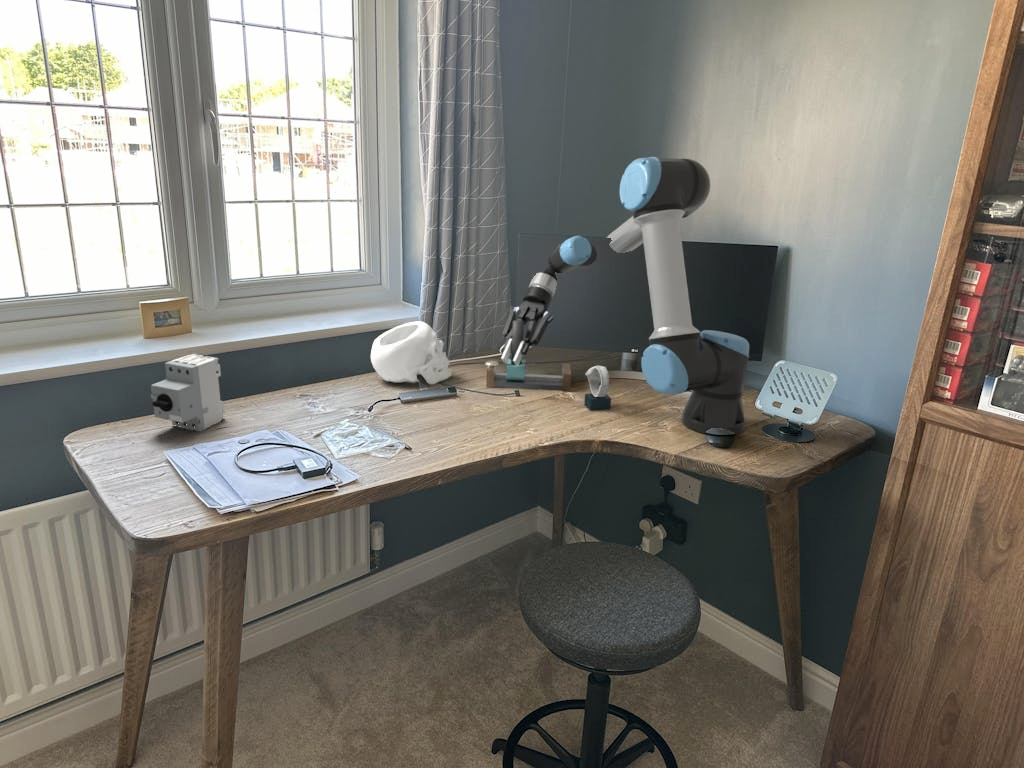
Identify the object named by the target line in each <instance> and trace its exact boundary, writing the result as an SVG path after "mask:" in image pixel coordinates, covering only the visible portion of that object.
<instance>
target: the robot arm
mask: <svg viewBox="0 0 1024 768" xmlns="http://www.w3.org/2000/svg"><path fill="white" fill-rule="evenodd" d="M619 183H620V184H619V198H620V202H621V204H622V206H624V208H625V210H628V211H630V212H632V216H631V217H630V218H629V219H627V220H626V221H624V222H623V223H622V224H620V226H618V227H617V228H616V229H614V230H613V231H612V232H611V233H609V234H608V235H607V236H606V237H604V238H611V240H612V241H611V242H610V244H609V245H610V247H611V248H612V249H613V250H614V251H616V252H617V253H625V252H629V251H631V252H632V251H634V250H635V249H637V248H638V247H640V246H641V245H643V250H644V257H645V258H644V259H645V265H646V266H645V267H646V274H647V282H648V287H649V288H648V289H649V298H650V299H649V300H650V305H651V306H650V307H651V314H652V321H653V329H654V330H653V332H652V333H651V334H650V336H649V337H648V342H649V346H648V347H646V349H645V350H644V351H643V352H642V353H643V354H642V355H643V356H641V362H640V365H641V371H642V374H643V377H644V379H645V381H646V383H647V384H648V385H649V386H650V387H651V388H652V389H653V390H654V391H655V392H657V393H659V394H662V395H672V394H673V395H680V394H681V395H682V394H683V393H687V392H691V394H690V396H689V398H688V400H687V402H686V404H685V405H684V408H683V409H682V413H681V423H682V424H683V425H684V427H686V428H688V429H690V430H692V431H695V432H697V433H702V434H705V433H706V431H707V430H709V429H711V428H723V429H727V430H730V431H732V432H734V433H735V434H736V435H739V434H741V433H743V432H744V431H745V427H746V415H745V410H744V406H743V397H742V396H743V390H744V385H745V381H746V374H747V367H748V360H749V358H750V355H749V354H750V343H749V341H748V339H746V338H744V337H742V336H739V335H737V334H734V333H728V332H724V331H719V330H713V329H711V330H709V329H708V330H707V329H704V330H702V331H701V330H699V329H698V328H696V327H695V326H694V325H693V321H692V313H691V305H690V296H689V289H688V282H687V274H686V265H685V259H684V258H685V257H684V249H683V243H682V235H681V234H682V233H681V225H680V221H681V220H682V219H685V218H688V217H689V216H691V215H692V214H693V213H694V212H696V211H697V210H699V209H700V208H701V207H702V206H703V204H705V202H706V200H707V198H708V196H709V194H710V192H711V180H710V175H709V172H708V171H707V170H706V168H705V167H704V166H703V165H702V164H701V163H699V162H698V161H697V160H694V159H690V158H672V157H671V158H670V157H657V156H650V157H639V158H637V159H634V160H632V162H630V164H628V165H627V167H626V168H625V170H624V173H623V174H622V176H621V180H620V182H619ZM596 257H597V252H596V249H595V247H594V246H593V245H592V244H591V243H589V241H588V239H587V238H585V237H583V236H581V235H574V236H572V237H569V238H567V239H566V240H565V241H563V242H562V243H561V244H559V246H558V247H557V248H556V249H555V250H554V251H553V252H552V254H551V255H550V257H549V260H548V265H549V268H550V269H549V268H546V269H543V270H540V271H539V272H538V273H536V275H535V276H534V275H533V276H534V277H532V278H533V279H531V280H530V283H529V285H528V288H527V290H526V291H525V294H524V296H523V299H522V303H520V304H519V305H518V306H516V307H514V306H513V305H511V306H509V314H508V317H507V320H506V323H505V325H504V327H503V328H504V329H503V331H502V333H501V334H502V336H503V337H504V339H505V340H506V341H505V343H504V345H503V346H502V347H503V348H502V349H503V353H502V356H501V357H500V359H501V360H502V362H503V364H506V365H507V362H508V359H510V358H511V350H512V328H513V321H514V320H521V321H524V325H527V323H528V322H529V323H528V327H527V330H526V335H525V337H523V341H521V343H520V346H519V348H518V350H517V352H516V355H515V357H514V359H513V361H514V363H515V365H516V366H519V364H520V361H521V359H522V360H523V356H526V355H527V353H528V351H529V349H530V346H533V345H534V346H538V345H539V343H540V341H541V340H542V337H543V335H544V333H545V332H546V330H547V328H548V326H549V324H550V323H551V322H553V320H554V316H553V315H552V313H551V311H548V309H549V307H550V305H551V302H552V299H553V298H554V295H555V293H556V291H555V290H557V288H556V286H557V278H556V275H555V272H557V273H563V272H566V273H568V272H569V270H570V271H572V270H574V269H576V268H577V269H578V268H579V269H580V268H581V267H582V268H587V267H586V266H589V265H590V264H592V263H593V262H594V261H595V260H596ZM549 261H550V262H549ZM550 264H551V265H550ZM567 271H568V272H567ZM545 273H546V274H545ZM548 274H549V275H548ZM550 275H551V276H550ZM553 277H554V278H555V279H556V280H555V279H554V278H553ZM557 287H558V286H557ZM517 316H518V319H517ZM540 319H541V320H540ZM539 321H540V322H539ZM736 435H735V436H736Z"/></svg>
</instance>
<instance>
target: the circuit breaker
mask: <svg viewBox="0 0 1024 768" xmlns="http://www.w3.org/2000/svg"><path fill="white" fill-rule="evenodd" d="M218 361H219V358H218V357H213V356H208V355H206V356H204V355H200V354H195V353H190V354H188V355H185V356H182V357H179V358H175V359H173V360H169V361H166V362H165V363H164V367H165V374H166V375H165V376H166V378H165V379H163V380H161V381H158V382H156V383H152V384H151V385H150V391H151V394H150V398H151V399H152V406H153V411H154V417H155V418H158V419H162V420H165V421H166V420H168V421H171V423H172V424H171V425H172V426H173V425H176V426H181V427H184V428H187V429H186V430H189V429H192V430H191V431H193V430H196V431H195V432H198V431H200V432H202V431H204V430H207V429H208V428H207V427H209V428H210V426H211V425H213V424H215V425H217V424H218V423H217V422H219V423H221V422H222V421H223V420H222V419H225V420H226V417H224V415H225V404H224V401H223V400H221V393H220V384H219V383H220V382H219V381H220V380H219V377H221V376H222V372H221V364H219V362H218ZM221 420H222V421H221ZM220 421H221V422H220ZM178 423H179V424H178ZM184 423H185V424H184ZM216 423H217V424H216ZM186 424H187V426H185V425H186ZM193 425H194V426H195V428H194V426H193ZM213 426H214V425H213ZM211 427H212V426H211ZM184 428H183V429H184ZM206 428H207V429H206ZM203 429H204V430H203ZM201 430H202V431H201Z"/></svg>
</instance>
